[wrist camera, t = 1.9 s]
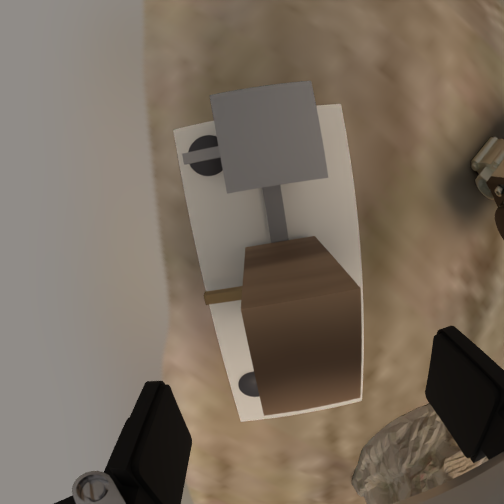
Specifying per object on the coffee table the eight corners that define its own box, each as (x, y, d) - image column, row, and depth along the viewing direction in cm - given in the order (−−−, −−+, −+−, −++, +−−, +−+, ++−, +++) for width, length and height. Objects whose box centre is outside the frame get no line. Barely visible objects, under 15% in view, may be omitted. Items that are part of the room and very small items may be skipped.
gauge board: (177, 131, 18) (137, 113, 11) (335, 107, 17) (379, 78, 10) (241, 412, 24) (238, 479, 17) (358, 391, 23) (383, 453, 16)
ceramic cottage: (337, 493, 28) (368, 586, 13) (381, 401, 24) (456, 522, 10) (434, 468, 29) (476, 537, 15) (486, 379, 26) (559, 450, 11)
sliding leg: (197, 255, 18) (159, 319, 10) (314, 235, 17) (360, 288, 10) (215, 330, 19) (197, 421, 11) (322, 313, 19) (360, 397, 11)
